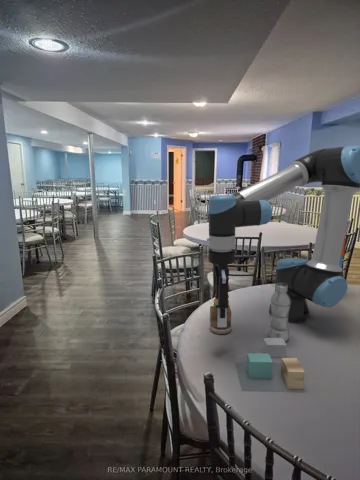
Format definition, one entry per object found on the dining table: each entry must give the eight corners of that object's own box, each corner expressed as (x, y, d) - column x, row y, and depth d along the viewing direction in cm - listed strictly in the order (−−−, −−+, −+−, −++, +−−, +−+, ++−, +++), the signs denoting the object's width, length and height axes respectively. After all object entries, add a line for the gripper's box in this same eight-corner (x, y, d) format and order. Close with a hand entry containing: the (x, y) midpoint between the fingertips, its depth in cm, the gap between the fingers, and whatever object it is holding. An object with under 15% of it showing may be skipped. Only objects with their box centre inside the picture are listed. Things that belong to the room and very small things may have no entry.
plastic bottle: (278, 347, 97) (282, 290, 93) (264, 338, 103) (267, 283, 99) (292, 342, 100) (297, 286, 96) (277, 333, 106) (281, 280, 102)
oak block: (280, 373, 83) (281, 357, 82) (294, 374, 83) (296, 358, 82) (287, 388, 77) (288, 371, 76) (302, 389, 77) (304, 372, 76)
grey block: (281, 352, 95) (282, 338, 94) (285, 359, 91) (286, 345, 90) (262, 352, 95) (263, 337, 94) (265, 359, 91) (266, 344, 90)
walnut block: (229, 320, 94) (229, 306, 92) (230, 327, 90) (231, 312, 89) (209, 320, 94) (210, 306, 93) (210, 327, 90) (211, 312, 89)
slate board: (288, 365, 88) (289, 363, 88) (304, 394, 76) (304, 391, 76) (234, 364, 89) (234, 362, 88) (241, 393, 77) (241, 390, 77)
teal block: (267, 369, 85) (268, 353, 84) (271, 378, 81) (272, 362, 80) (246, 369, 85) (247, 353, 84) (249, 378, 82) (250, 361, 81)
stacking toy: (231, 336, 105) (232, 285, 101) (208, 333, 106) (209, 284, 102) (231, 325, 112) (233, 278, 108) (210, 323, 114) (211, 276, 110)
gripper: (207, 242, 95) (207, 310, 100) (210, 257, 78) (210, 337, 83) (230, 242, 95) (229, 310, 100) (239, 256, 78) (237, 337, 83)
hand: (221, 322), depth 92 cm, fingers closed on walnut block, 4 cm apart
